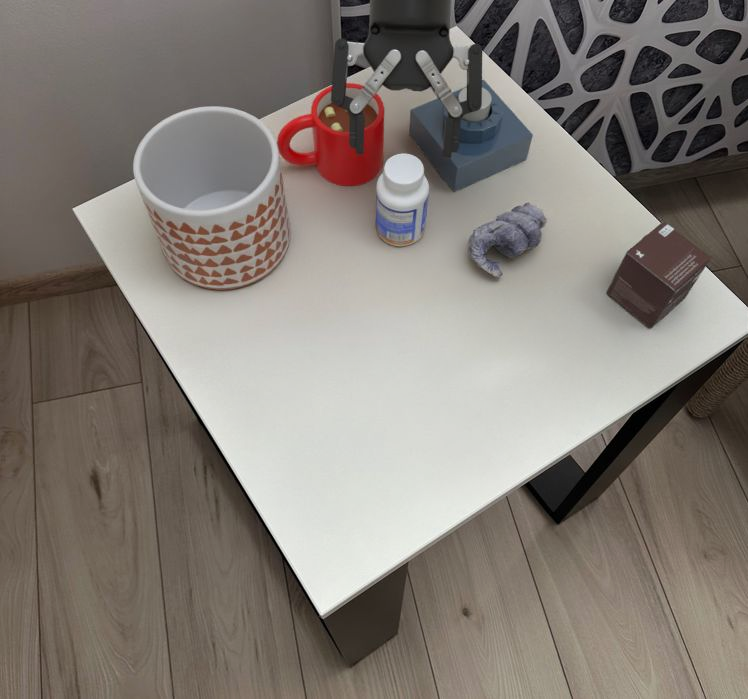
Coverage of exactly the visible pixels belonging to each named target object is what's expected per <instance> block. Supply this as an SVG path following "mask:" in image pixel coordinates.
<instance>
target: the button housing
mask: <svg viewBox="0 0 748 699" xmlns="http://www.w3.org/2000/svg"><path fill="white" fill-rule="evenodd" d="M466 87H467V86H464V87H462V88H460V89H457V90H455V91H451V92H452V93H453V95H454V96H455V98H456V100H457V101H458V97H459V93H460V92H461V91H462V90H463V89H464V88H466ZM482 88H484V89H486V90H487V91H488V92H489V93H490V95H491V98H492V100H491V106H490V111H489V115H488V117H487V118H486V119H485V120H484V121H482V122H479V123H469V122H467V121H465V120H462V119H461V123H460V138H459V148H458V150H457V152H452V154H451V159H450V158H443V144H444V128H445V119H446V118H447V111H446V110H445V108H444V107H443V105H442V104H441V102H440V101H439V99H438V98H437V97H436V98H435V99H433V100H430V101H427V102H426V103H423V104H420V105H418V106H416V107H413V108H411V109H410V112H409V125H408V129H409V130H408V136H409V137H410V138H411V140H412V141H413V142H414V144H416V146H417V147H418V149H419V150H420V151H421V153H423V155H424V156H425V158H426V159H427V160H428V161H429V162H430V164H431V165H432V166H433V168H434V169H435V170H436V171H437V172H438V174H439V175H440V176H441V178H442V179H443V180H444V181H445V183H446V184H447V185H448V187H449V188H450V189H451V190H452V192H453V193H456V192H458V191H460V190H462V189H464V188H467V187H469V186H471V185H473V184H476V183H478V182H480V181H483V180H485V179H486V178H489V177H492V176H494V175H496V174H498V173H500V172H502V171H504V170H507V169H509V168H511V167H513V166H515V165H517V164H520V163H522V162H524V161H527V159H528V157H529V156H528V155H529V152H530V148H531V143H532V140H533V136H534V134H533V133H532V132H531V130H529V128H528V127H527V126H526V125H525V124H524V123H523V122H522V121H521V119H520V118H519V117H517V115H516V114H515V113H514V112H513V110H511V108H510V107H509V106H508V105H507V104H506V103H505V102H504V100H503V99H502V98H501V97H500V96H499V95H498V93H497V92H496V91H495V90H494V89H493V88H492V87H491V86H490V85H489V83H488V82H487V81H486V80H485V79H482Z"/></svg>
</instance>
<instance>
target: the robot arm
mask: <svg viewBox="0 0 748 699" xmlns="http://www.w3.org/2000/svg"><path fill="white" fill-rule="evenodd" d="M451 9H452V0H369V23H368V35H367V38H366V40H365V41H364V42H355V41H347V40H346V39H345V38H338V39H336V41H335V44H334V55H333V66H332V77H331V78H332V80H331V86H332V91H331V102H332V103H333V104H334V105H336V106H338V107H340V108H343V109H345V110H347V111H348V113H349V116H350V125H349V144H350V147H351V148H356V155H363V154H364V125H365V115H363V109H364V108H365V107H366V106H367V104H368V103H369V102H370V100H371V99H372V98H373V97H374V96H375V94H376V93H377V94H378V92H379V91H380V89H381V88H382V87H384V88H385V89H387V90H389V91H397V92H398V91H403V90H409V91H412V92H424V91H426V90H429V89H431V90H432V92H433V94H434V95H435V97H436V99H437V98H438V99H439V101H440V102H441V104H442V105H443V107H444V108H445V110H446V111H447V118H446V119H445V128H444V144H443V158H450V159H451V154H452V152H457V150H458V148H459V138H460V123H461V119H462V117H463V116H464V115H465V114H468V113H471V112H474V111H478V110H479V109H480V108H481V106H482V80H483V47H482V45H481V44H479V43H473V44H471V45H454V46H453V44H452V41H451V38H450V30H451V29H450V28H451V27H450V26H451ZM362 55H363V57H364V58H365V60H366V61H367V63H368V64H369V66H370V68H371V69H372V71H373V73H372V74H371V75H370V77H369V78H368V79H367V81H366V82H365V83H364V85H363V88H362V89H361V90H360V92H359V93H358V94H357V96H356V97H355V98H354V99H353V98H350V97H348V96H346V83H348V68H349V67H351V66H354V65H355V64H356V62H357V59H358V57H359V56H362ZM453 58H454V59H456V60H457V61H458V65H459V68H460V69H461V70H464V71H466V87H467V100H466V101H463V102H460V103H458V101H457V100H456V98H455V96H454V95H453V93H452V92H453V91H452V90H451V88H450V86H449V85H448V83H447V82H446V80H445V78H444V77H443V76H442V74H443V72H444V70H445V69H446V68H447V66H448V65H449V64H450V63H451V61H452V60H453Z"/></svg>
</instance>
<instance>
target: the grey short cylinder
mask: <svg viewBox="0 0 748 699" xmlns="http://www.w3.org/2000/svg"><path fill="white" fill-rule="evenodd" d="M465 87H466V88H464V87H463V88H464V89H463V90H462V91H461V92H460V93H459V97H458V103H460V102H463V101H466V100H467V86H465ZM491 100H492V98H491V95H490V93H489V92H488V91H487V90H486V89H484V88H482V106H481V108H480V109H479V110H478V111H474V112H471V113H468V114H465V115H464V116H463V117H462V120H465V121H467V122H469V123H479V122H482V121H484V120H485V119H486V118H487V117H488V115H489V111H490V106H491Z"/></svg>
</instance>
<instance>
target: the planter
mask: <svg viewBox="0 0 748 699" xmlns="http://www.w3.org/2000/svg"><path fill="white" fill-rule="evenodd" d="M132 170H133V177H134V181H135V184H136V186H137V188H138V191H139V194H140V196H141V199H142V202H143V204H144V206H145V209H146V212H147V214H148V217H149V218H150V222H151V224H152V227H153V230H154V232H155V235H156V237H157V241H158V242H159V245H160V246H161V250H162V252H163V255H164V257H165V259H166V261H167V263H168V264H169V266H170V268H171V269H172V270H173V271H174V272H175V273H176V274H177V275H178V276H179V277H180V278H182V279H183V280H185V281H186V282H188V283H190V284H192V285H194V286H197V287H201V288H203V289H204V288H205V289H209V290H221V291H223V290H234V289H239V288H243V287H246V286H249V285H252V284H255V283H256V282H258V281H260V280H262V279H264V278H265V277H267V276H268V275H269V274H270V273H272V271H274V270H275V268H277V267H278V265H279V264H280V263H281V261H282V260H283V258H284V257H285V255H286V253H287V251H288V249H289V244H290V241H291V240H290V238H291V229H290V227H291V226H290V219H289V213H288V207H287V206H288V205H287V198H286V192H285V184H284V178H283V170H282V164H281V155H280V154H279V150H278V146H277V139H276V137H275V136H274V134H273V133H272V131H271V130H270V128H269V127H268V126H267V125H266V124H265V123H264V122H262V121H261V120H260V119H259V118H258V117H256V116H254V115H252V114H250V113H248V112H246V111H243V110H240V109H238V108H233V107H227V106H218V105H217V106H216V105H211V106H210V105H209V106H199V107H194V108H189V109H185V110H182V111H179V112H177V113H174V114H171V115H170V116H168V117H166V118H164V119H163V120H161V121H160V122H158V123H156V125H155V126H153V127H152V128H151V129H150V130H149V131H147V133H146V135H144V137H143V138H142V140H141V141H140V142H139V143H138V146H137V148H136V151H135V154H134V156H133V163H132Z"/></svg>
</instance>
